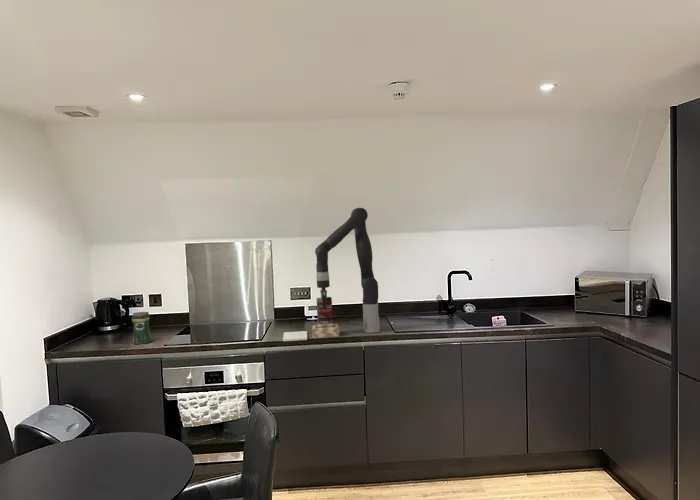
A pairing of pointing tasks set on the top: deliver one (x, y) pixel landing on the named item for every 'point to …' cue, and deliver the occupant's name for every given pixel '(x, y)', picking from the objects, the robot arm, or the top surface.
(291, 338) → the white flat slab
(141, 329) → the coffee jar
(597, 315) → the top surface
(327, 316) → the supplement box
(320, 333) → the birch caddy
